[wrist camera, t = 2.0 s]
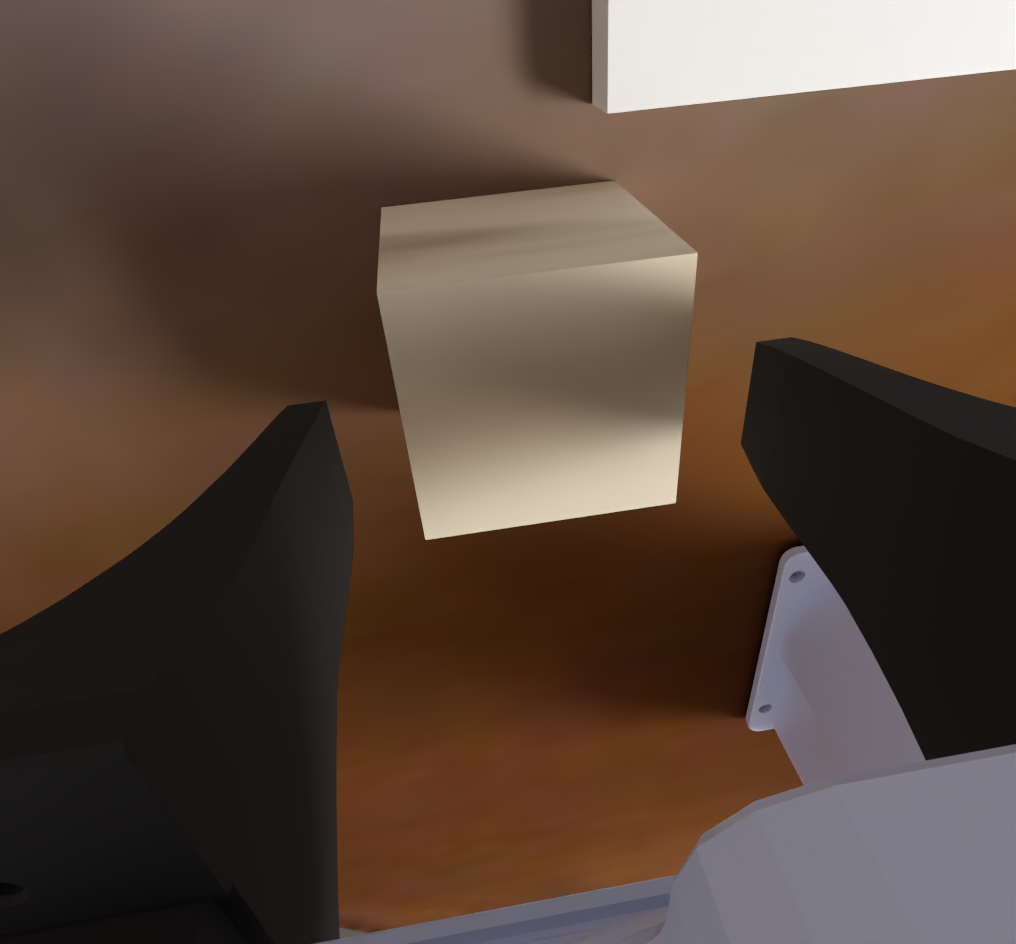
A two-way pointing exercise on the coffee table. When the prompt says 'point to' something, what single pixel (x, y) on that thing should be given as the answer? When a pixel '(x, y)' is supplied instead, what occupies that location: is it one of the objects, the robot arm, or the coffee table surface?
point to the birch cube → (536, 353)
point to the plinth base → (786, 46)
